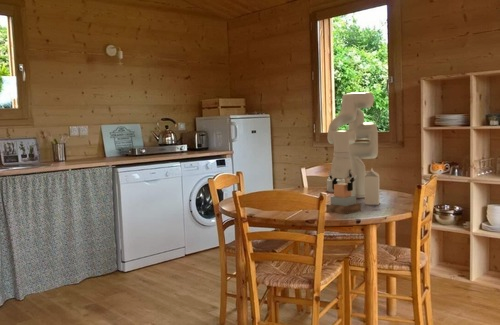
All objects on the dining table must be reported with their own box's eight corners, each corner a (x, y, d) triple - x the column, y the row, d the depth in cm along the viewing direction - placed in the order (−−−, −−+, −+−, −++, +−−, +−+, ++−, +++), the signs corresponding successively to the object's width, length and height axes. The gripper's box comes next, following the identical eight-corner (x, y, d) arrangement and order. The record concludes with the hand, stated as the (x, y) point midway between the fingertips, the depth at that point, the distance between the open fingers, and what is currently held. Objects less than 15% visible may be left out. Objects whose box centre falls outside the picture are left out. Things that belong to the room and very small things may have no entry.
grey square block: (330, 204, 241) (330, 196, 240) (341, 201, 247) (341, 193, 246) (345, 206, 234) (345, 198, 234) (356, 203, 240) (356, 195, 240)
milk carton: (379, 202, 258) (379, 167, 256) (378, 205, 251) (378, 169, 249) (366, 202, 260) (365, 167, 258) (364, 204, 254) (364, 169, 252)
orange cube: (334, 196, 240) (333, 184, 239) (341, 194, 244) (341, 183, 243) (343, 197, 236) (343, 185, 235) (351, 195, 240) (351, 183, 239)
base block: (326, 212, 241) (326, 204, 241) (341, 208, 249) (341, 200, 249) (345, 215, 232) (345, 207, 232) (360, 211, 240) (360, 203, 239)
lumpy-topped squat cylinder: (346, 189, 307) (346, 176, 306) (339, 192, 296) (339, 178, 295) (331, 188, 312) (331, 175, 311) (323, 191, 301) (323, 178, 300)
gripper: (323, 155, 242) (324, 189, 244) (350, 156, 229) (351, 192, 231) (333, 154, 247) (334, 187, 249) (360, 155, 234) (361, 190, 235)
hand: (342, 189), depth 240 cm, fingers open, 9 cm apart
